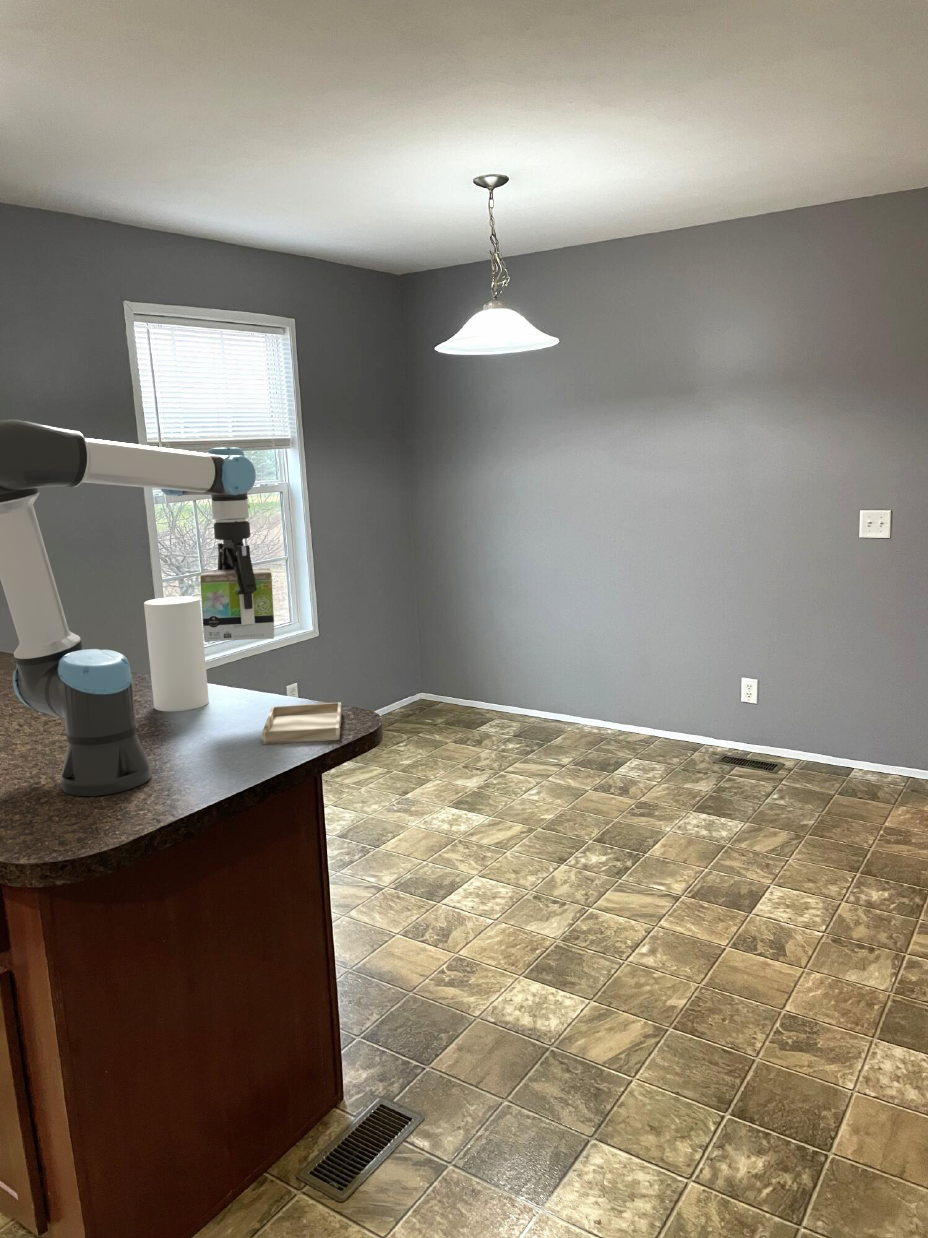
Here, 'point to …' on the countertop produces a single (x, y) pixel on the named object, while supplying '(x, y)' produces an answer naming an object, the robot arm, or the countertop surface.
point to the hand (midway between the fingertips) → (238, 620)
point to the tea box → (235, 606)
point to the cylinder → (176, 653)
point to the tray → (303, 723)
